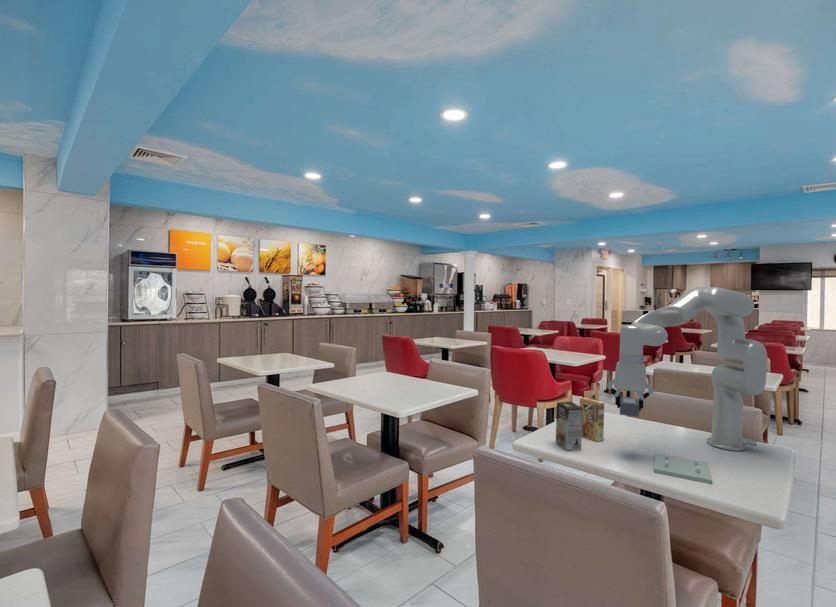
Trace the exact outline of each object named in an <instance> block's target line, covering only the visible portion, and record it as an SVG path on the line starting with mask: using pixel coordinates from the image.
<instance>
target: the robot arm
mask: <svg viewBox="0 0 836 607" xmlns="http://www.w3.org/2000/svg"><path fill="white" fill-rule="evenodd" d="M754 308H755V302H754V300H753V298H752V297H751V296H750V295H748V294H747V293H743V292H739V291H735V290H732V289H728V288H725V287H718V286H697V287H692V288H691V289H689V290H688V291H687V292H685V293H684V294H683V295H681V296H679V297H678V298H677V299H675V300H674V301H673V302H671V303H670V304H668V305H665V306H663V307H660V308H658V309H654V310H652V311H649V312H647V313H646V314H645V313H644V314H643V315H641V316H640V317H638V318H637V319H635V320H634V321H633V322H632V323H631V324H624V325H621V327H620V333H619V334H620V336H619V359H618V360H619V361H617V362H616V365H615V366H616V367H615V371H614V372H615V373H614V378H613V379H612V380H610V381H609V382H608V383H606V385H605V386H606V387H607V389H608V390H609V391H610V392H611V393H612V394H613V395H614V397H615V402H614V404H615V406H616V407H617V409H620V397H621V395H620V394H621V392H622V391H625V392H633V393H637V394H638V396H639V398H638V401H639V412H641V411H642V409H644V400H646V399H647V398H648V397H650V395H652V394H653V393H655V389H654V388H653V387H652V386H651V384H650V383H649V382H648V381H647V368H646V364H645V363H644V362H648V357H645V356H644V346H651V347H660V346H662V345H663V344H664V343H666V342H667V340H668V335H669V334H668V332H667V330H666V329H665V328H668V327H675V326H682V325H684V324H686V323H688V322H690V321H691V320H692V319H694V318H695V317H696V316H697V315H700V314H701V312H703V311H707V312H708V314H710V315H711V316H712V317H713V318H714V320H715V321H716V325H717V348H716V349H717V350H716V351H717V356H718V357H719V358H720V359H721V360H722V361H725V362H729V363H734V364H739V365H742V366H743V367H742V366H738V365H733V364H732V365H731V364H724V363H723V364H718V365H716V366H715V367H714V368H713V369H712V371H711V376H710V377H711V383H712V390H713V391H712V392H713V400H712V418H711V419H712V424H711V436H709V437H707V438H706V443H707V444H708V445H710V446H713V447H715V448H718V449H721V450H726V451H733V452H741V451H742V452H743V451H746V449H747V445H748V446H752V447H757V446H758V445H757V444H758V442H757V440H752V439H751V438H745V437H744V436H743V434H742V433H743V432H742V431H743V429H742V428H743V415H744V414H743V413H744V400H743V397H742V395H741V394H744V395H748V396H758V395H761V394H762V393H763V392H764V390H765V388H766V383H767V369H768V352H767V349H766V346H765V345H764V344H763V343H762V342H760V341H758V340H755V339H747V338H746V328H745V327H746V325H745V322H744V320H743V318H744V317H748V316H749V315H751V313H753V311H754V310H755V309H754ZM613 386H614V387H613ZM646 389H647V390H648V391H646ZM645 391H646V392H645ZM644 392H645V393H644Z"/></svg>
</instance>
